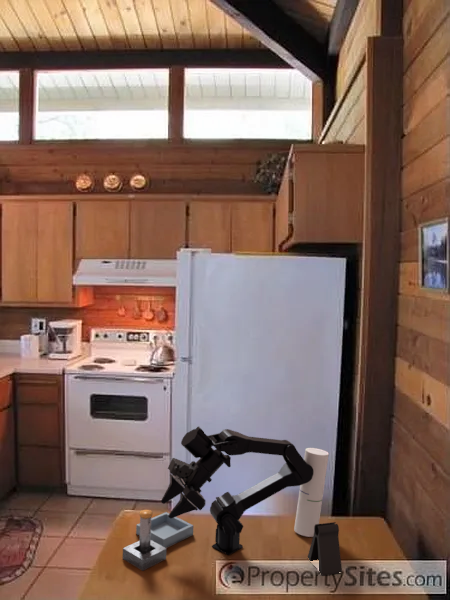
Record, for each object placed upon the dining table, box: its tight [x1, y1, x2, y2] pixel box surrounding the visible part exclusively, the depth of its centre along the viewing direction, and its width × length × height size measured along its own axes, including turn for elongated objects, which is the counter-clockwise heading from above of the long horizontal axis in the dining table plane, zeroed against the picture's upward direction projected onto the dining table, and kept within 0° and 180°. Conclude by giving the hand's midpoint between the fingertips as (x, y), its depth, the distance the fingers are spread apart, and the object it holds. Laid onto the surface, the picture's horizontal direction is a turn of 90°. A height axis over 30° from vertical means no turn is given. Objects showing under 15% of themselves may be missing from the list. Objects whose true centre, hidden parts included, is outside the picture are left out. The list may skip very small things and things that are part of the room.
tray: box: [135, 511, 194, 549], centre depth 168 cm, size 12×12×3 cm
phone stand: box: [307, 521, 343, 577], centre depth 155 cm, size 9×6×12 cm, turn 17°
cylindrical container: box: [293, 447, 329, 538], centre depth 173 cm, size 7×7×25 cm
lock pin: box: [138, 509, 153, 554], centre depth 154 cm, size 3×3×13 cm
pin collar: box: [122, 540, 167, 571], centre depth 155 cm, size 8×8×3 cm
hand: (165, 509), depth 155 cm, fingers open, 9 cm apart
